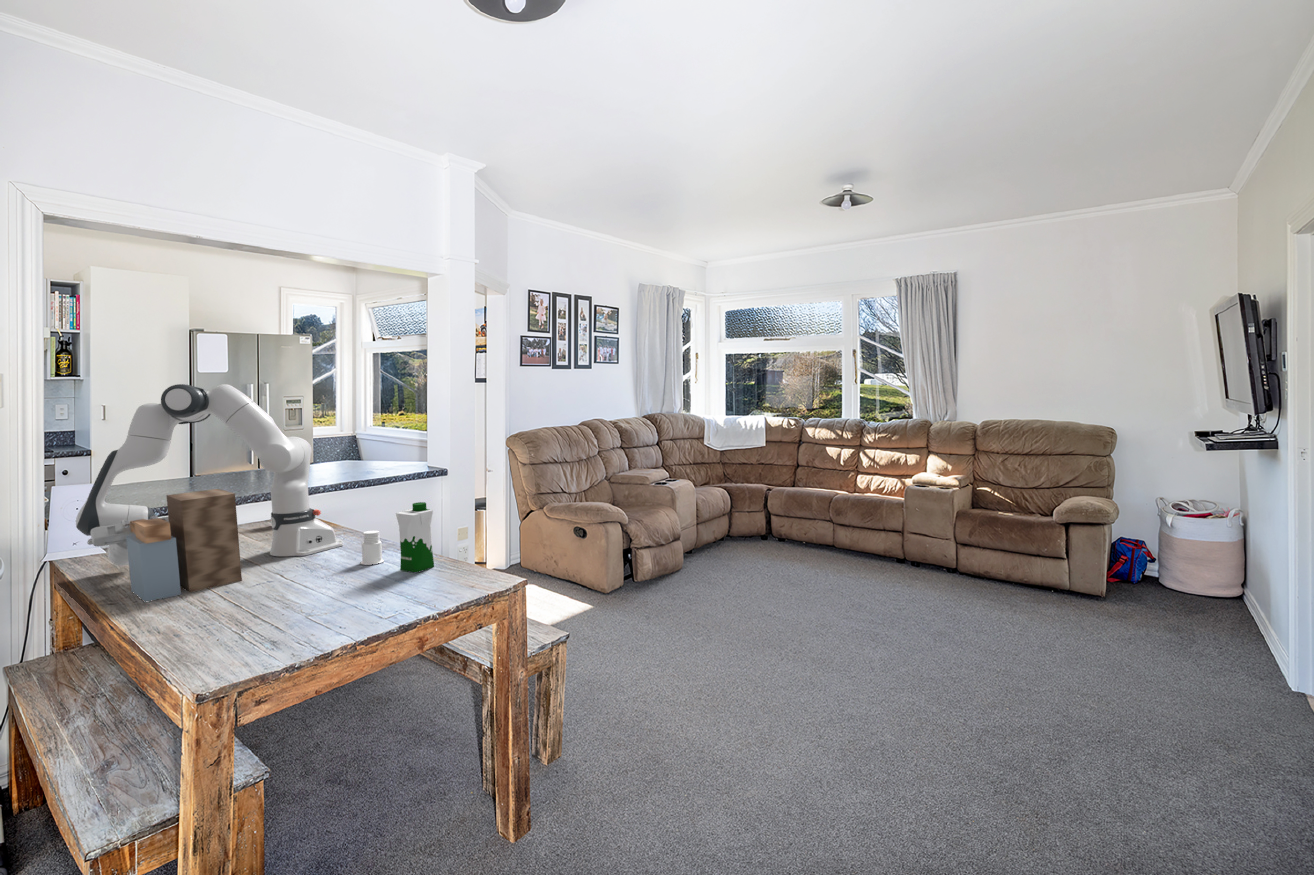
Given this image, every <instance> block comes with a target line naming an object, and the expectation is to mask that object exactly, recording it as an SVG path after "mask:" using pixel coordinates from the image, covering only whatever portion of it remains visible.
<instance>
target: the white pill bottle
mask: <svg viewBox="0 0 1314 875" xmlns="http://www.w3.org/2000/svg"><path fill="white" fill-rule="evenodd" d="M382 545H383V544H382V541H381V540H380V531H379V530H368V531H367V530H366V531H363V542H362V543H361V561H360V565H365V566H368V565H369V566H371V565H372V564H373V565H378V563H379V564H381V563H384V562H385V560H384V559H383V551H382V550H383V548H382Z"/></svg>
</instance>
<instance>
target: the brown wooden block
mask: <svg viewBox="0 0 1314 875" xmlns="http://www.w3.org/2000/svg"><path fill="white" fill-rule="evenodd" d="M160 518H161V517H158V519H151V520H145V519H141V520H135V521H130V529H131V532H133V533H134V534H136V538H137V539H139V540H140V541H142V542H144V543H146V544H147V543H153V542H158V541H164V540H170V539H171V530H170V523H169V522H166V521H164V520H162V519H160Z"/></svg>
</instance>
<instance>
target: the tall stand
mask: <svg viewBox="0 0 1314 875" xmlns="http://www.w3.org/2000/svg"><path fill="white" fill-rule="evenodd" d="M166 504H167V515H168V516H167V517H168V518H169V523H170V530H171V536H173V537H175V538H176V546H177V557H178V568H179V579H180V588H182V589H183V590H185V591H186V592H188V593H194V592H198V591H203V590H206V589H211V588H212V589H213V588H215V587H220V586H221V587H222V586H225V585H229V584H233V583H239V582H241V581H242V582H243V576H242V565H241V564H242V563H241V551H240V541H239V540H240V539H239V527H238V516H237V503H236V494H235V493H234V492H232V491H231V492H230V491H227V490H224V489H220V488H212V489H207V490H205V489H204V490H197V491H189V492H182V493H174V494H166Z"/></svg>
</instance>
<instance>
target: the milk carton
mask: <svg viewBox="0 0 1314 875" xmlns="http://www.w3.org/2000/svg"><path fill="white" fill-rule="evenodd" d="M433 511H434V510H433V509H428V508H427V502H424V501H423V502H421V501H419V502H414V503H412V508H410V509H406V510H405V509H404V510H402V511H400V512H396V513H395V515H396V519H397V522H398V528H399V529H398V530H399V545H400V546H399V548H400V569H399V570H400V571H403V572H408V571H410V573H414V572H418V573H420V572H419V571H421V572H423V571H422V570H424V571H426V570H429V569H431V568H434V567H435V561H434V554H433V537H432V520H433V513H434V512H433ZM428 568H429V569H428ZM425 569H426V570H425Z"/></svg>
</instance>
